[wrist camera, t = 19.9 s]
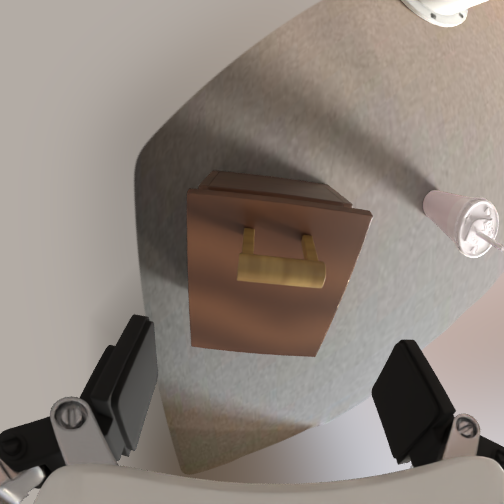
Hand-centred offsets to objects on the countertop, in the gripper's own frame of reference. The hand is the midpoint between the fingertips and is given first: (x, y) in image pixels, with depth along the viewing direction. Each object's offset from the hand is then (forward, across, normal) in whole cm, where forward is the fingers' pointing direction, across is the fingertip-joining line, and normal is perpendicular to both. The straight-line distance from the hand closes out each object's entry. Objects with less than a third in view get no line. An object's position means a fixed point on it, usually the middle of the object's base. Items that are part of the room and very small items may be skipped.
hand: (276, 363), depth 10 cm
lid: (+13, -1, +4) cm, 14 cm away
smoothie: (+24, -22, -4) cm, 33 cm away
